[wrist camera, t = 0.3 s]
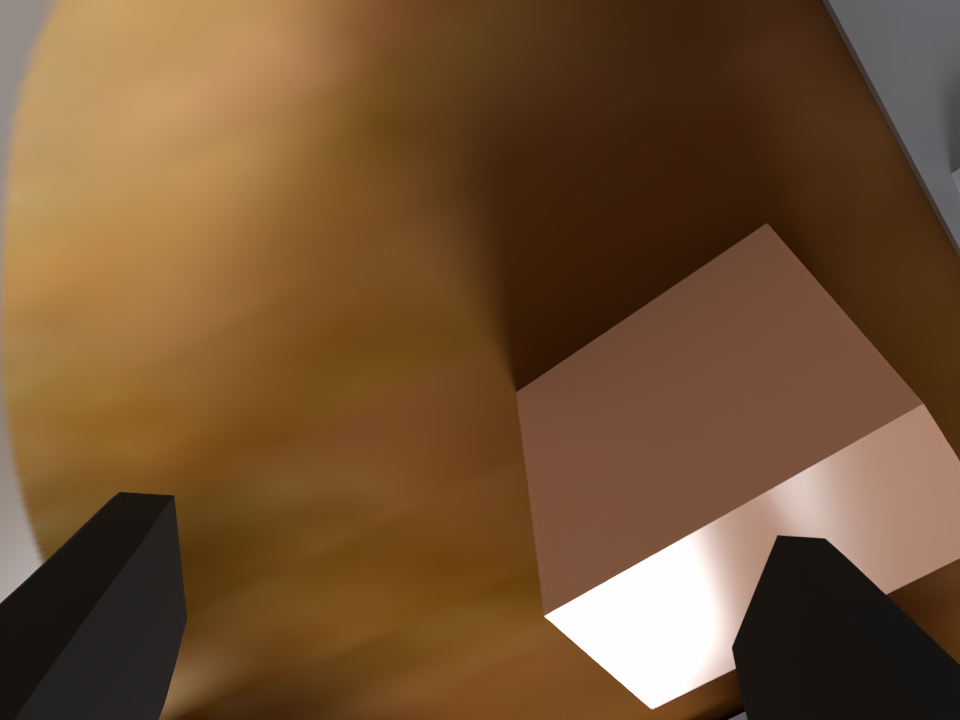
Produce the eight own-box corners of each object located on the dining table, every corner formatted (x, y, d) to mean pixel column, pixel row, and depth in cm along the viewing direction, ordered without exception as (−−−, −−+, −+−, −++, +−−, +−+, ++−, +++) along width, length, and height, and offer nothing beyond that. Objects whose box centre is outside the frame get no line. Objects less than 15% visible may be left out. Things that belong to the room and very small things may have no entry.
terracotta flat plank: (836, 327, 20) (1006, 535, 14) (595, 475, 22) (651, 709, 16) (766, 222, 18) (923, 403, 12) (515, 391, 20) (544, 616, 14)
